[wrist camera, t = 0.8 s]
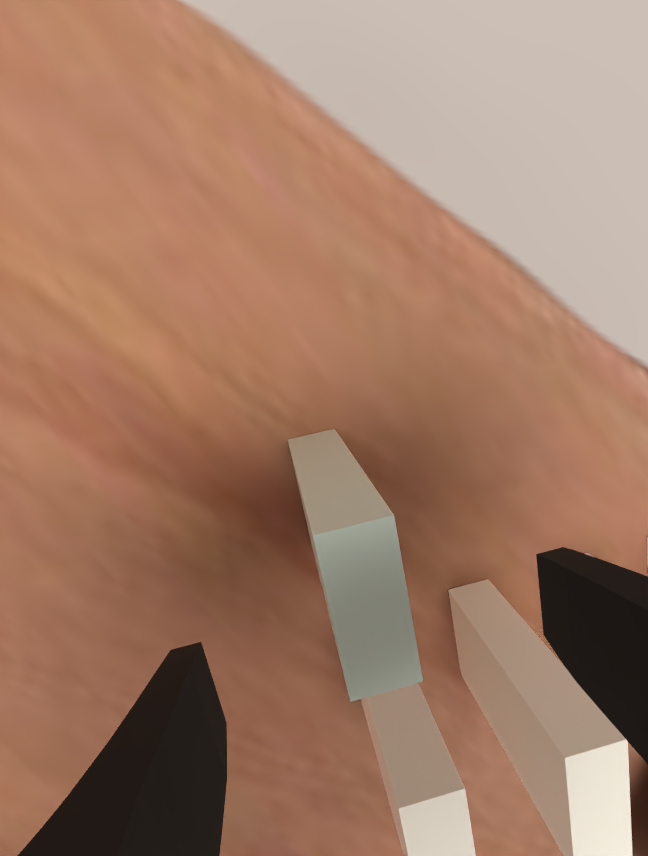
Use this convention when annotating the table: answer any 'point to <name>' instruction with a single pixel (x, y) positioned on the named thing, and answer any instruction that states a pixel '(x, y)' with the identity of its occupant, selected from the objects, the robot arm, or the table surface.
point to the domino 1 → (357, 566)
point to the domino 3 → (545, 725)
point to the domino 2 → (418, 775)
